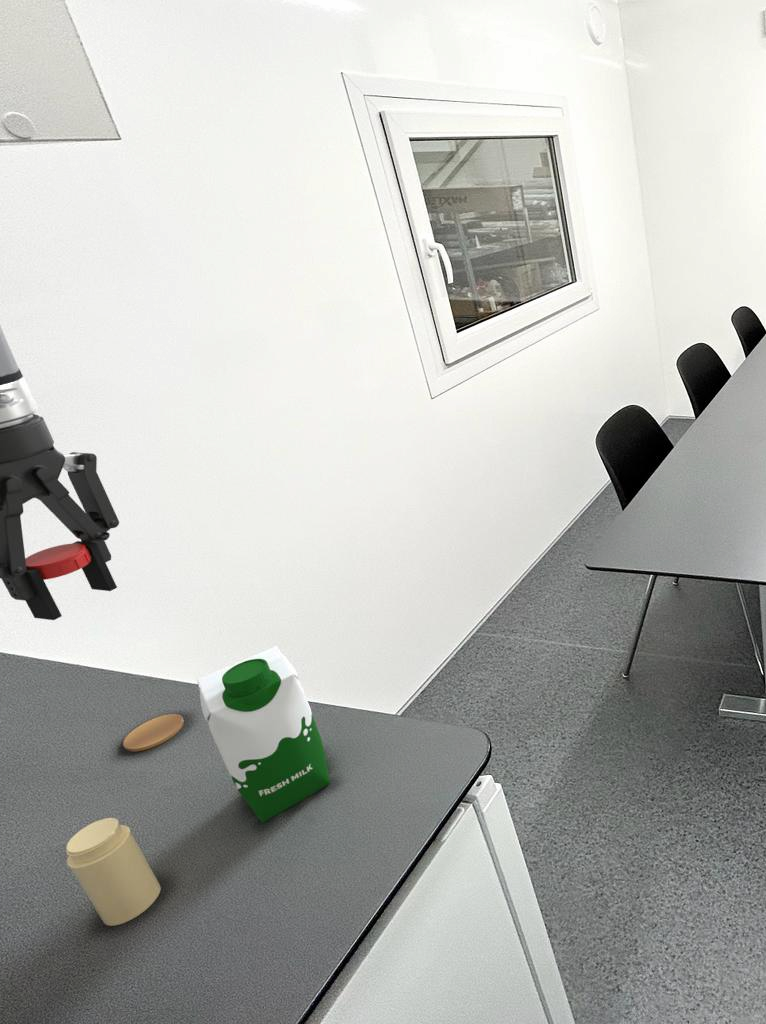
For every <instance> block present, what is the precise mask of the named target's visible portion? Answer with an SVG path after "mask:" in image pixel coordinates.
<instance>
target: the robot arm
mask: <svg viewBox="0 0 766 1024" xmlns="http://www.w3.org/2000/svg"><path fill="white" fill-rule="evenodd" d="M26 381H27V380H26V379H25V377H24V375H23V374H22V371H21V368H19V367H18V363H17V361H16V359H15V356H14V354H13V352H12V350H11V348H10V345H9V342H8V341H7V338H6V335H5V334H4V331H3V329H2V326H1V325H0V579H1V580H2V582H3V584H4V586H5V588H6V590H7V592H8V593H9V596H10V597H11V598H12V599H14V600H16V601H23V602H24V601H25V603H26V604H27V606H28V609H29V610H30V612H31V614H32V616H33V618H34V619H39V620H48V621H55V620H57V619H60V618H61V617H63V615H62V613H61V611H60V609H59V607H58V605H57V603H56V601H55V599H54V598H53V595H52V594H51V592H50V590H49V588H48V585H47V584H46V582H45V580H43V578H42V576H41V574H40V572H39V570H38V569H33V568H26V560H25V559H26V554H25V552H26V551H25V544H24V535H23V526H22V519H21V518H22V517H21V516H22V515H23V514H24V504H25V503H28V502H29V501H31V500H32V499H37V500H39V501H40V502H41V503H42V504H43V505H44V506H45V507H46V508H47V509H48V510H49V511H50V513H52V515H54V516H55V518H57V519H58V520H59V522H61V523H62V525H64V527H65V528H67V530H69V531H70V532H71V533H72V535H73V536H74V537H75V538H77V539H78V540H77V541H75V542H73V543H79V544H83V545H85V547H86V549H88V551H89V554H90V556H91V561H90V562H89V563H88V564H87V565H86V566H84V567H83V568H81V570H82V572H83V574H84V576H85V578H86V580H87V582H88V584H89V587H90V589H91V590H93V591H95V590H96V591H105V592H113V590H116V589H118V586H117V584H116V582H115V579H114V577H113V575H112V573H111V571H110V569H109V567H108V565H107V563H108V562H110V561H112V554H111V552H110V549H109V548H108V545H107V543H106V541H107V540H108V539H109V538H110V536H111V534H110V532H109V531H110V530H112V529H116V528H117V527H118V526H119V524H120V520H119V518H118V515H117V513H116V511H115V509H114V506H113V505H112V502H111V501H110V498H109V496H108V494H107V491H106V490H105V488H104V485H103V483H102V480H101V479H100V476H99V473H98V472H97V470H98V469H97V468H98V467H97V465H98V464H97V462H98V457H97V455H96V454H95V453H90V452H77V451H72V452H70V453H68V454H63V452H61V451H59V450H58V449H57V448H56V447H55V446H54V444H55V441H54V438H53V436H52V433H51V432H50V430H49V427H48V425H47V423H46V422H45V419H44V417H43V416H41V415H38V414H35V413H36V412H37V411H38V410H39V407H38V404H37V402H36V400H35V397H33V395H32V392H31V390H30V388H29V386H28V383H27V382H26ZM62 470H64V471H66V472H67V476H68V478H69V481H70V483H71V485H72V487H73V489H74V491H75V493H76V495H77V498H78V500H79V502H80V504H81V506H80V505H79V504H78V503H77V502H76V501H75V500H74V499H73V498H72V497H71V496H70V491H69V490H68V488H67V487H65V486H64V485H63V483H61V481H60V480H59V478H60V476H61V473H62Z"/></svg>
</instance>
